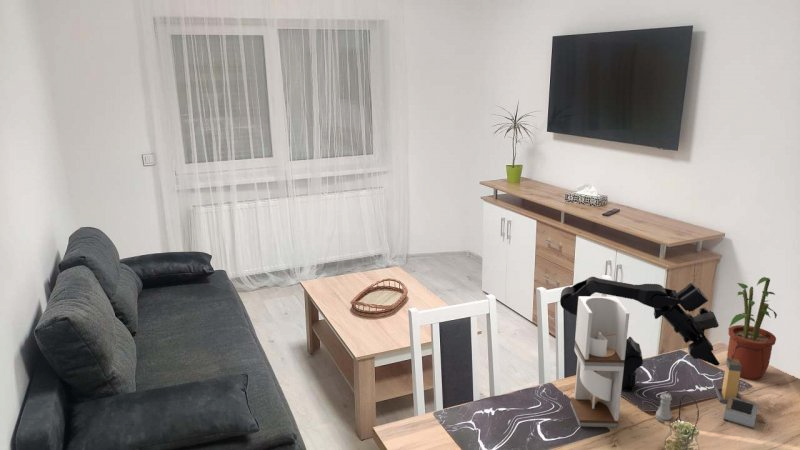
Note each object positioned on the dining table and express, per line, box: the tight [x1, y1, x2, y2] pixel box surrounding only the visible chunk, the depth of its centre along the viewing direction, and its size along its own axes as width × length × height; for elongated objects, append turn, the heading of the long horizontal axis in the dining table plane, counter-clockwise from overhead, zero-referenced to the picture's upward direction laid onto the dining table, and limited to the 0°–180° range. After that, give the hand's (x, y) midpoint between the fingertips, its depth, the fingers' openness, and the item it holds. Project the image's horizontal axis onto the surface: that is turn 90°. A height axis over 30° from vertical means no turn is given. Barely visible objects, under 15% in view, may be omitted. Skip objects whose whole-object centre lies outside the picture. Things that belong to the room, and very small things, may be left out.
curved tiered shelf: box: [569, 295, 630, 428], centre depth 162 cm, size 11×11×35 cm
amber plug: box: [721, 357, 742, 399], centre depth 172 cm, size 3×4×12 cm
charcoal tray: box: [714, 386, 742, 404], centre depth 173 cm, size 6×7×2 cm
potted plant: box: [726, 276, 778, 380], centre depth 184 cm, size 17×16×35 cm
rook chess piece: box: [654, 391, 673, 424], centre depth 164 cm, size 4×4×8 cm
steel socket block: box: [723, 396, 760, 430], centre depth 163 cm, size 7×8×4 cm
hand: (715, 357), depth 171 cm, fingers open, 9 cm apart
